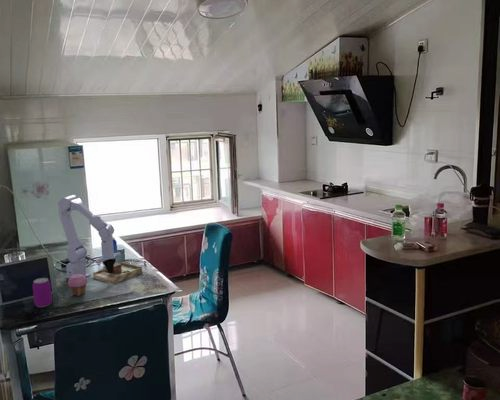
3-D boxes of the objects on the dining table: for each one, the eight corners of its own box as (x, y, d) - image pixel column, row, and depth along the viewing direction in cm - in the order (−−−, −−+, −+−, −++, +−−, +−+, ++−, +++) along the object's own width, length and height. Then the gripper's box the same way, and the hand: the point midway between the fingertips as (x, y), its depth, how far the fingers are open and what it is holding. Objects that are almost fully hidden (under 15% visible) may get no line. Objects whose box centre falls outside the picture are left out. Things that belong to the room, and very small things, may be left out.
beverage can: (55, 301, 237) (52, 277, 235) (48, 307, 229) (45, 283, 227) (39, 301, 237) (36, 277, 235) (31, 308, 230) (28, 283, 227)
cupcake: (79, 298, 239) (77, 278, 237) (65, 296, 243) (63, 276, 241) (92, 292, 247) (90, 272, 245) (78, 289, 251) (76, 270, 249)
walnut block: (115, 274, 266) (114, 266, 265) (109, 273, 268) (109, 265, 267) (121, 272, 269) (121, 264, 268) (116, 270, 272) (115, 262, 271)
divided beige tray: (113, 283, 258) (112, 277, 257) (93, 277, 267) (93, 271, 267) (142, 272, 273) (141, 266, 273) (122, 267, 283) (122, 261, 282)
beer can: (109, 268, 281) (107, 241, 278) (100, 266, 286) (97, 239, 283) (121, 264, 288) (119, 237, 285) (112, 262, 293) (109, 235, 290)
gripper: (101, 252, 255) (103, 278, 258) (123, 245, 266) (125, 270, 269) (92, 250, 259) (95, 275, 262) (115, 243, 270) (117, 267, 273)
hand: (110, 272), depth 266 cm, fingers closed
